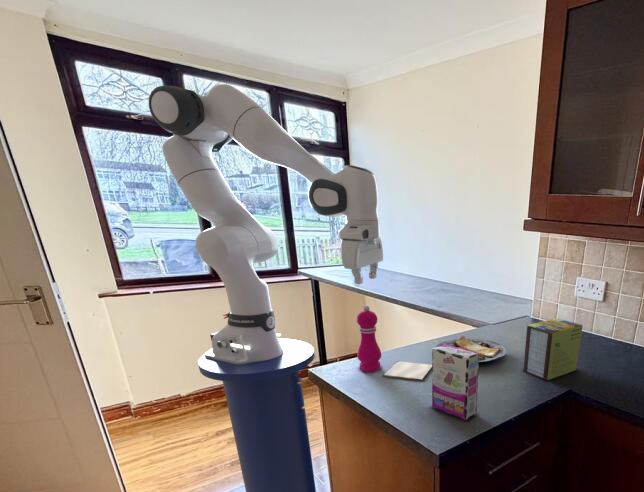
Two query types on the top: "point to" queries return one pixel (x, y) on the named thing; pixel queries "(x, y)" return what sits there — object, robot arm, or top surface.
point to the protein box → (552, 348)
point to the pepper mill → (368, 341)
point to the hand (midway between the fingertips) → (366, 280)
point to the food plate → (478, 347)
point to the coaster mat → (408, 370)
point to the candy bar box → (455, 381)
